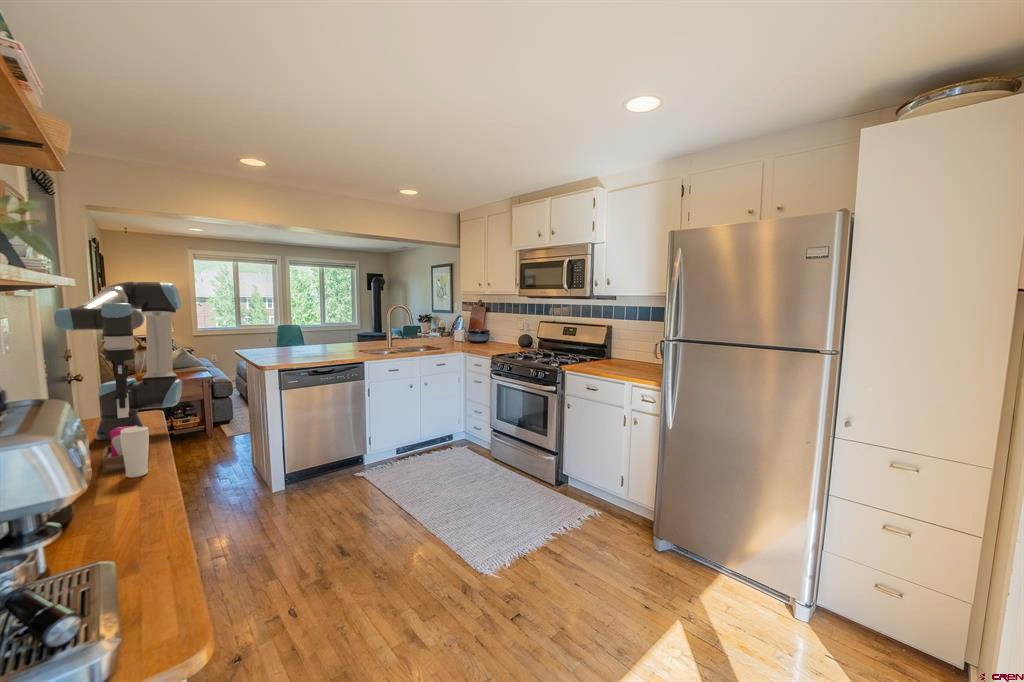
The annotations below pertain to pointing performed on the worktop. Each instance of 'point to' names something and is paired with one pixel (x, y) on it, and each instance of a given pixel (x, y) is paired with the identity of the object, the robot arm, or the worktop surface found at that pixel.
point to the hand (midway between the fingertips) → (123, 414)
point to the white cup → (135, 450)
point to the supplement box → (117, 440)
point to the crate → (112, 462)
